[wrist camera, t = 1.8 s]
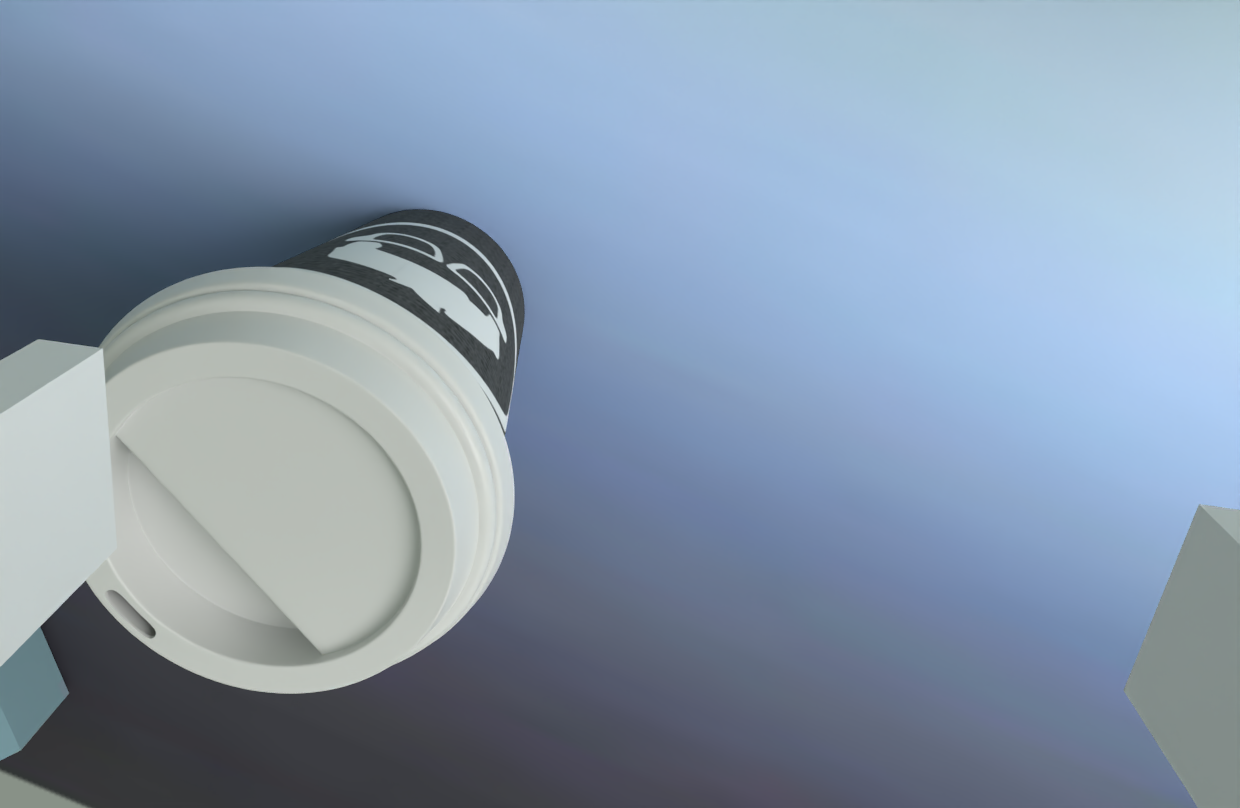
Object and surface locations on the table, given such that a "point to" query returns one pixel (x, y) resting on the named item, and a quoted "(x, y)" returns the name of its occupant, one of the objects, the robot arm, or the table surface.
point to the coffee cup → (314, 454)
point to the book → (28, 693)
